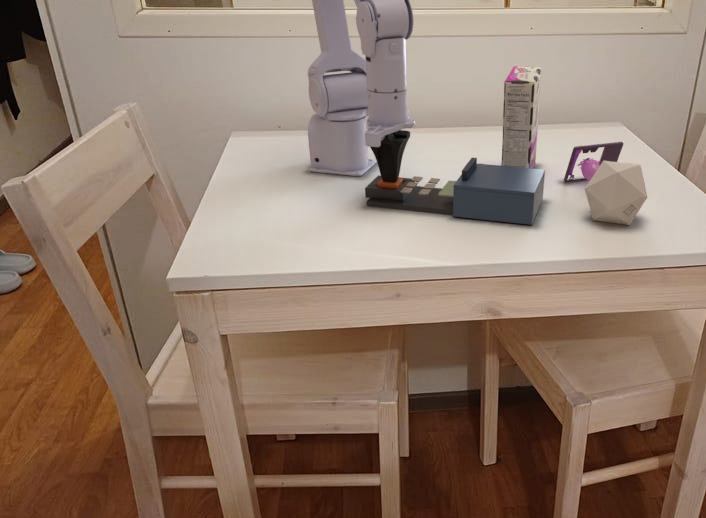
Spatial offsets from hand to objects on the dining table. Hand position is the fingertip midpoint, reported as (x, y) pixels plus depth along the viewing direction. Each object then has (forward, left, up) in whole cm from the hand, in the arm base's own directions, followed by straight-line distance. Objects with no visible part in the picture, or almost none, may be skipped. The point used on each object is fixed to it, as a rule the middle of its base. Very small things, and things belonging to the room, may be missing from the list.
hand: (390, 180), depth 111 cm
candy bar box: (+17, +17, -3) cm, 24 cm away
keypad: (+7, 0, 0) cm, 7 cm away
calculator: (+5, 0, -3) cm, 6 cm away
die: (+34, +1, -3) cm, 34 cm away
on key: (0, 0, -1) cm, 1 cm away
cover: (+17, 0, -3) cm, 17 cm away
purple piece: (+30, +16, -3) cm, 34 cm away
